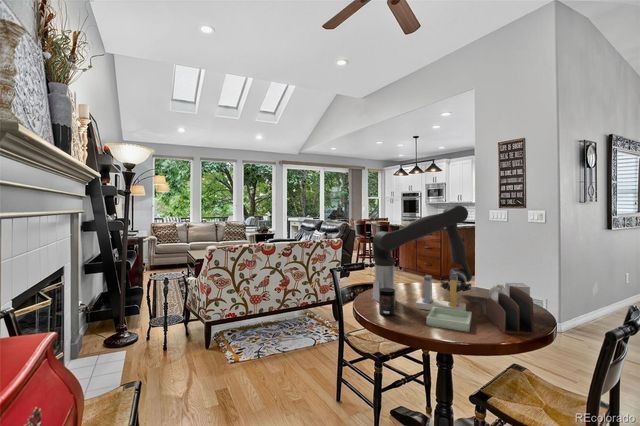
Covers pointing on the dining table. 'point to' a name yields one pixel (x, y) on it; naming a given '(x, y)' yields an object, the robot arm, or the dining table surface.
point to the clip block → (439, 305)
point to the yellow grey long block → (453, 290)
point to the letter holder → (512, 312)
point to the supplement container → (387, 301)
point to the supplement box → (518, 285)
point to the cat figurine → (496, 292)
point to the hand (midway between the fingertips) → (453, 289)
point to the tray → (449, 319)
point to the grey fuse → (428, 289)
